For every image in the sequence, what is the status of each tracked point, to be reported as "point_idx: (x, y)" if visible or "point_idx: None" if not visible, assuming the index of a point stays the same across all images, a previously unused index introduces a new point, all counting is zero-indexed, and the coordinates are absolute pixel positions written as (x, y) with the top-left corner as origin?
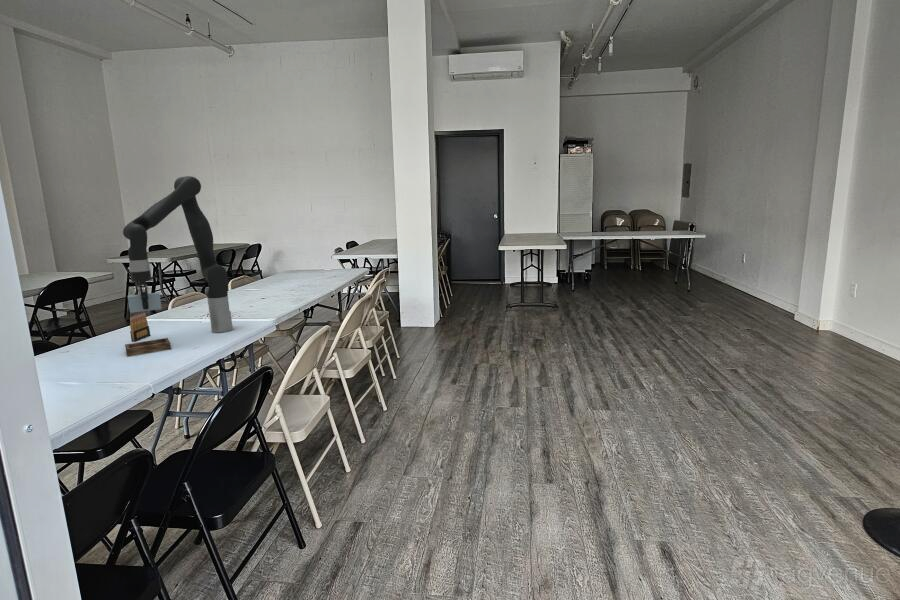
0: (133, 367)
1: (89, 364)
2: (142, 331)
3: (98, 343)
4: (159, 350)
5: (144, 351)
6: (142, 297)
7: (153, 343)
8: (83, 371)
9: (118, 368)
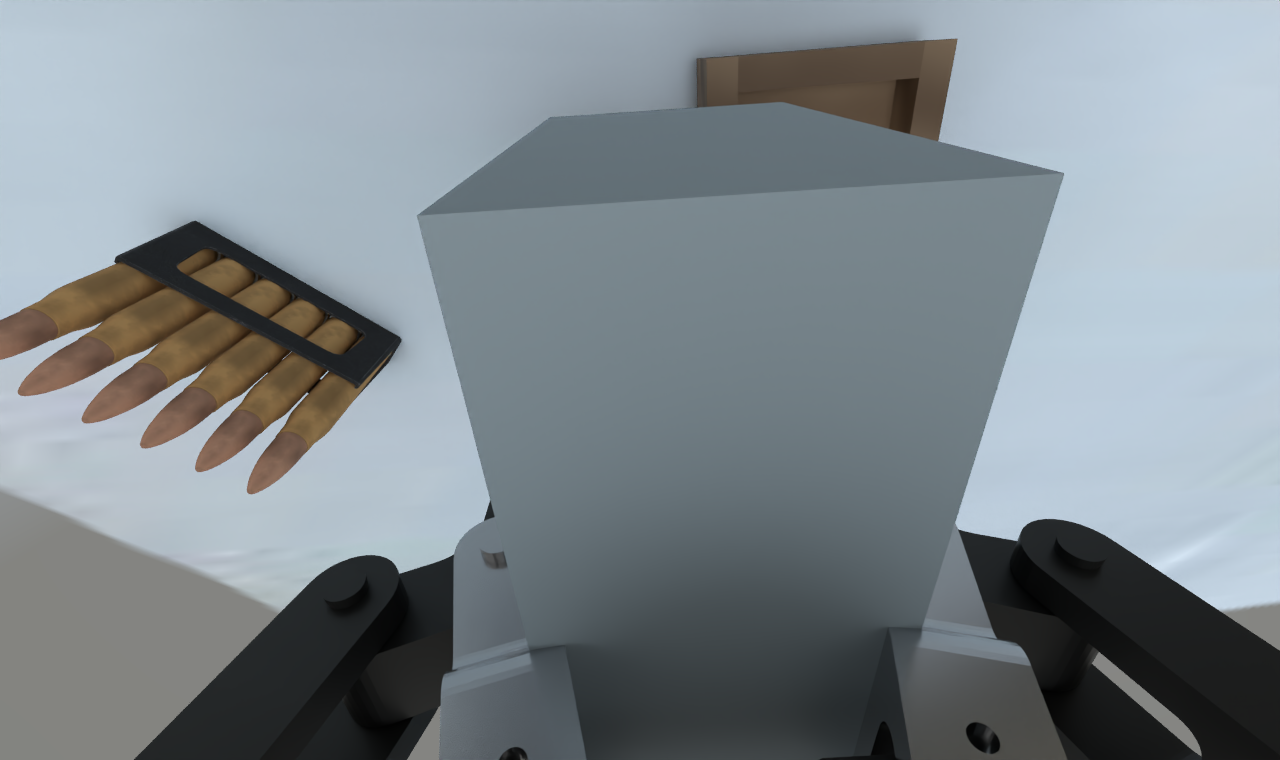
0: (1199, 332)
1: None
2: (253, 305)
3: (335, 535)
4: None
5: None
6: (1132, 706)
7: None
8: None
9: (1121, 408)
